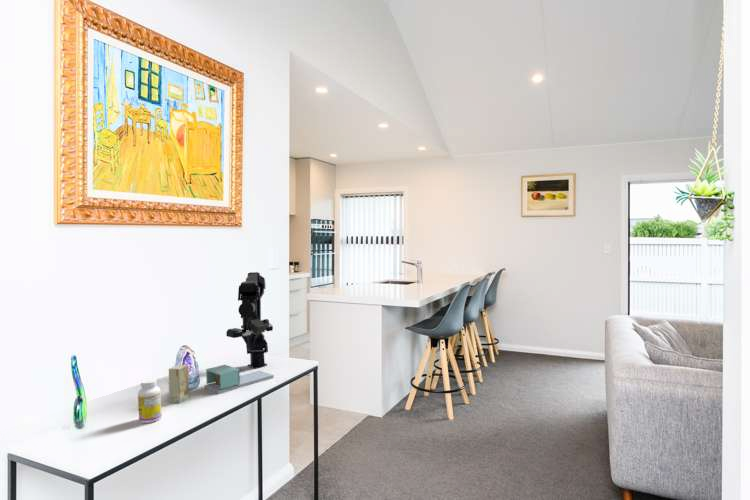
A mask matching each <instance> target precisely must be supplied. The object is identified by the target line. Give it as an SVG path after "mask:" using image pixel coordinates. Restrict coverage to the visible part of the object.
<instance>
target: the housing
mask: <svg viewBox="0 0 750 500" xmlns="http://www.w3.org/2000/svg"><path fill="white" fill-rule="evenodd" d="M205 373H206V374H205V375H206V377H205V378H206V385H207V384H211V383H215V382H216V378H215V374H218V375H220V389H224V388H227V387H231V386H234V385H238V384H240V376H241V375H240V368H237V367H234V366H230V365H228V364H222V365H217V366H213V367H208V368H205Z"/></svg>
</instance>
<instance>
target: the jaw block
mask: <svg viewBox="0 0 750 500" xmlns="http://www.w3.org/2000/svg"><path fill="white" fill-rule="evenodd" d="M215 378H216V385H218V386H220V375H218V374H215Z"/></svg>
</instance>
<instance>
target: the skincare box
mask: <svg viewBox="0 0 750 500" xmlns="http://www.w3.org/2000/svg"><path fill="white" fill-rule="evenodd" d="M189 379H190V378H189V365H188V364H177V365H175V366H172V367H170V368H168V391H169V392H168V393H169V394H168V396H169V397H168V398H169V399H168V400H169V403H176V404H179V403H182V402H184V401H186V400H187V399H189V398H190V388H189V387H190V383H189V382H190V381H189Z"/></svg>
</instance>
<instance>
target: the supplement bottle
mask: <svg viewBox="0 0 750 500" xmlns="http://www.w3.org/2000/svg"><path fill="white" fill-rule="evenodd" d="M157 380H158V379H157V378H148V379H144V380H142V381H140V387H141V388H140V389H139V390H138V393H137V402H138V403H137V404H138V405H137V406H138V421H139V422H140V423H141V424H151V422H152V423H155V422H154V421H156V422H158V421H159V419H162V416H163V415H162V395H161V393H162V391H161V388H160V387H159V386H157V384H158V381H157ZM157 420H158V421H157Z"/></svg>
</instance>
